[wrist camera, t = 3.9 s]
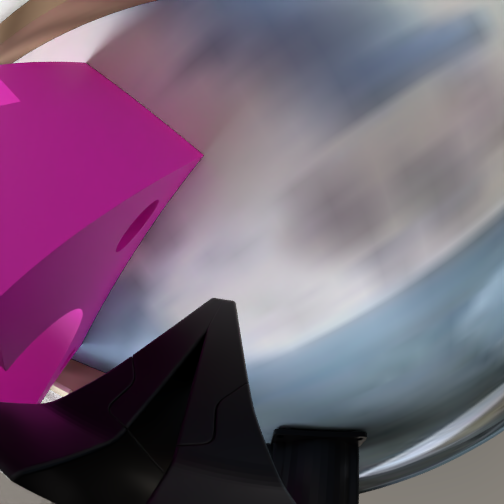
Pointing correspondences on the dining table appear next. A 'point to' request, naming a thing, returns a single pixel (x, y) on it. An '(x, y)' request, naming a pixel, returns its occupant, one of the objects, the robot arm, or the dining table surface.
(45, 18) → the lane rails
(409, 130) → the dining table surface
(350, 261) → the dining table surface
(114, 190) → the toy block
